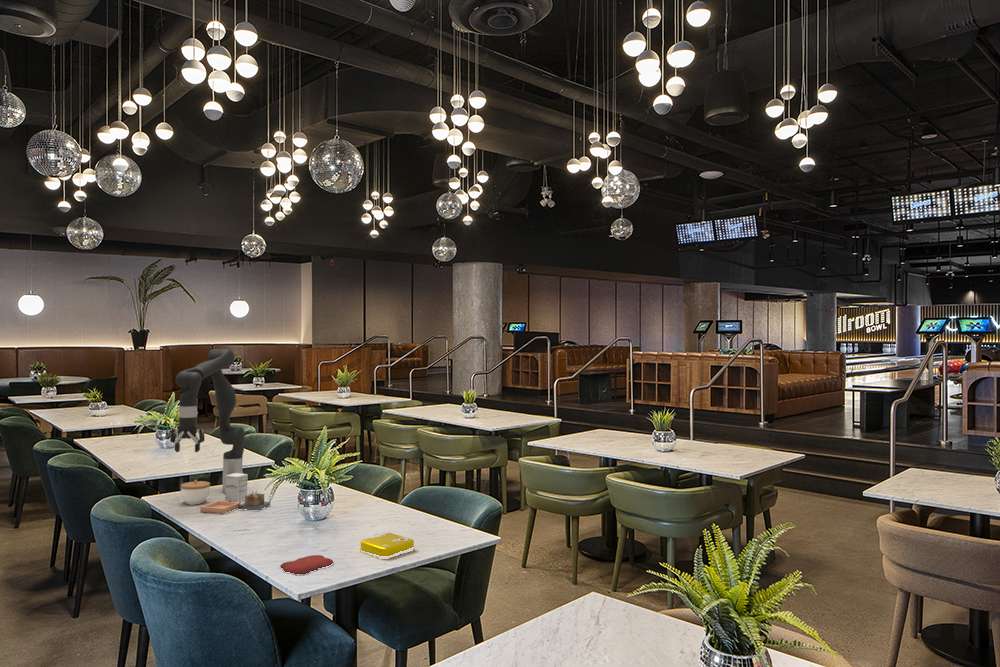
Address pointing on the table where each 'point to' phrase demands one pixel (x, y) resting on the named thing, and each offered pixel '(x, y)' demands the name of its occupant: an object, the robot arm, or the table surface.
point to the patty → (306, 564)
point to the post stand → (253, 507)
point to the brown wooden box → (254, 499)
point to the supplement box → (236, 487)
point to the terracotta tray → (219, 507)
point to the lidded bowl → (195, 492)
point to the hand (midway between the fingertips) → (187, 451)
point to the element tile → (386, 544)
